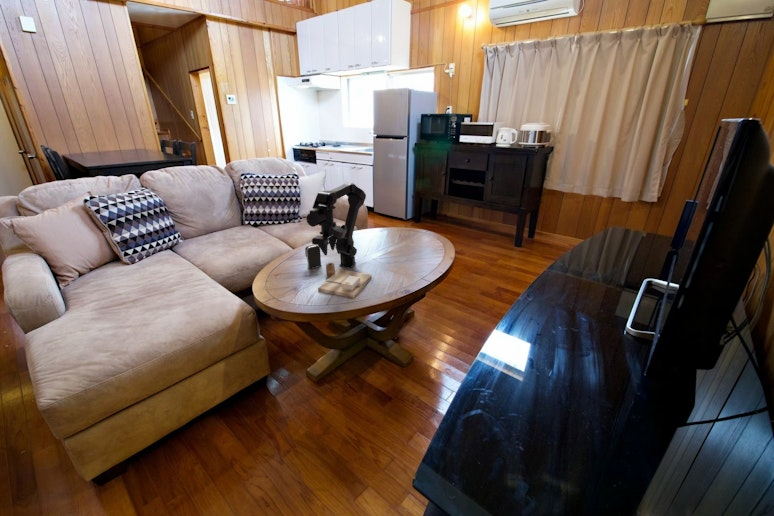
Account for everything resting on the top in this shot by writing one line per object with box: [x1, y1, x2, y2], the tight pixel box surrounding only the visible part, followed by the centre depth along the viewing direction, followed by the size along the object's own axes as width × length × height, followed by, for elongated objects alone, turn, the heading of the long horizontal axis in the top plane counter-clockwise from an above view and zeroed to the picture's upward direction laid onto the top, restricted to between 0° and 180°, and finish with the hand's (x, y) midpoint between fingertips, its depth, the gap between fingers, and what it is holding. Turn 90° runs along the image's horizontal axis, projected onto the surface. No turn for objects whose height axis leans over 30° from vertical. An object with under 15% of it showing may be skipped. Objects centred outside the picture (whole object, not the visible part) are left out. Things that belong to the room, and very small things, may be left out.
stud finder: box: [342, 276, 360, 290], centre depth 145 cm, size 5×8×3 cm, turn 160°
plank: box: [317, 269, 373, 299], centre depth 150 cm, size 17×20×2 cm
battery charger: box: [304, 244, 322, 270], centre depth 165 cm, size 7×4×11 cm, turn 129°
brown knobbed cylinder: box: [325, 262, 336, 279], centre depth 157 cm, size 4×4×7 cm
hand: (329, 252), depth 153 cm, fingers open, 6 cm apart
